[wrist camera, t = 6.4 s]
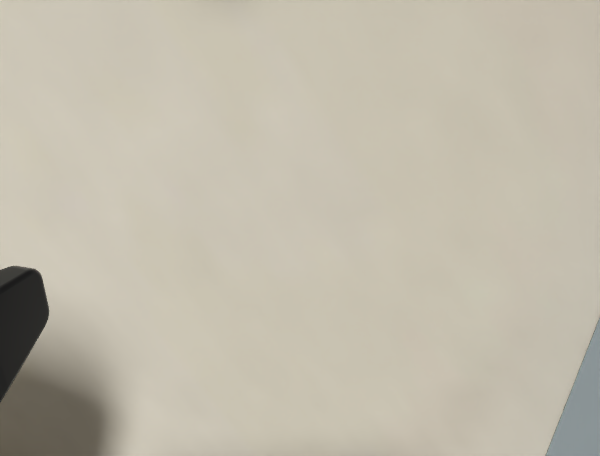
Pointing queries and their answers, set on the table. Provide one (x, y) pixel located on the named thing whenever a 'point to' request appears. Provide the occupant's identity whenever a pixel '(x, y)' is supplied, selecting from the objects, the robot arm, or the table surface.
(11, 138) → the table surface
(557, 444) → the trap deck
